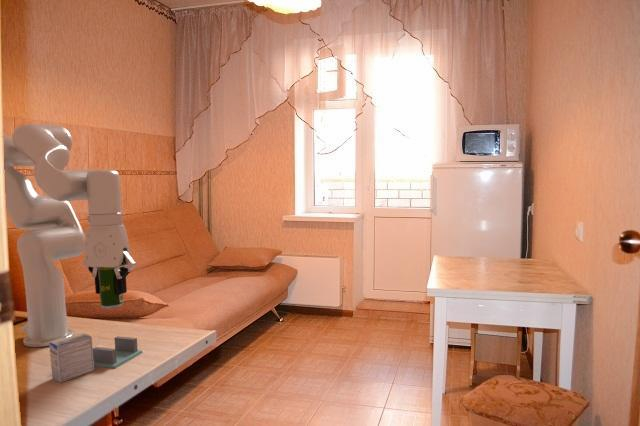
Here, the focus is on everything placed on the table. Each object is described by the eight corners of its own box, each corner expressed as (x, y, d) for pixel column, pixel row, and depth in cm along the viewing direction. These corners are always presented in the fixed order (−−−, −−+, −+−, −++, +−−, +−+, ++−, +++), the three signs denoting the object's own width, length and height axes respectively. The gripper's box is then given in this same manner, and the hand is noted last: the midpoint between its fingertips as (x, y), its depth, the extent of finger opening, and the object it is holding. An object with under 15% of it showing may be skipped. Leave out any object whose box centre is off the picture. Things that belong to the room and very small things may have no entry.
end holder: (88, 364, 119) (87, 349, 119) (117, 350, 129) (115, 335, 128) (115, 368, 117) (114, 352, 116) (142, 352, 126) (141, 337, 126)
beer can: (126, 302, 125) (123, 255, 123) (121, 308, 119) (117, 259, 118) (104, 303, 124) (100, 257, 123) (97, 309, 118) (94, 261, 117)
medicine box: (85, 367, 118) (83, 332, 117) (94, 371, 115) (92, 335, 115) (51, 378, 112) (48, 342, 111) (60, 383, 109) (57, 346, 108)
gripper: (66, 222, 119) (72, 295, 120) (124, 222, 113) (129, 299, 115) (89, 218, 126) (94, 287, 127) (145, 219, 120) (150, 291, 122)
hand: (111, 292), depth 121 cm, fingers closed on beer can, 5 cm apart
